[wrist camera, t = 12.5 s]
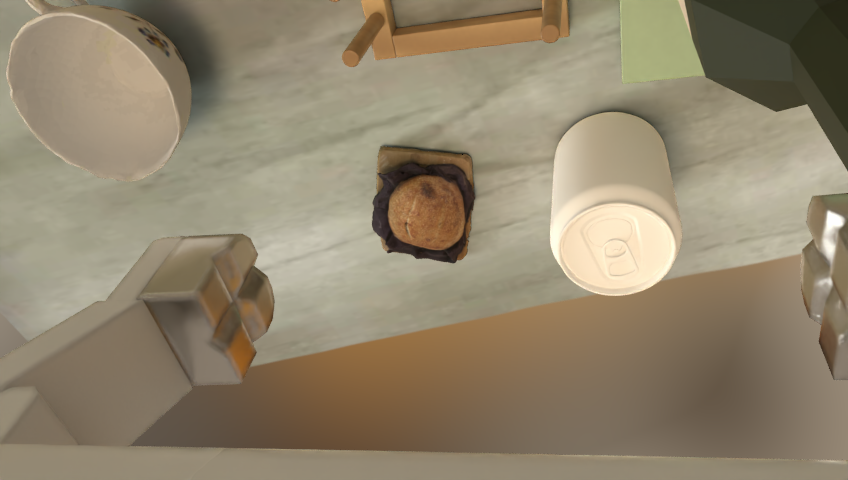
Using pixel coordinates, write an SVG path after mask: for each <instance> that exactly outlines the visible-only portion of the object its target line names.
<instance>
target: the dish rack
mask: <svg viewBox="0 0 848 480" xmlns="http://www.w3.org/2000/svg"><path fill="white" fill-rule="evenodd" d="M330 1H333V2H337V1H339V0H330ZM361 2H362V6H363V10H364V14H365V19H366V22H365V23H364V25H363V26H362V28H361V29H360V30H359V32H358V33H357V34H356V36H355V37H354V39H353V40H352V41H351V43H350V44H349V46H348V47H347V48H346V50H345V51H344V52H343V54H342V60H343V62H344V64H345V65H347V66H349V67H355V66H357V65H358V63H359V62H360V60H361V59H362V57H363V56H364V54H365V53H366V51H367V50H368V48H369V47H370V45H371V44H372V48H373V52H374V57H375V60H380V59H388V58H396V57H404V56H412V55H421V54H429V53H437V52H445V51H453V50H461V49H470V48H478V47H486V46H494V45H502V44H511V43H519V42H527V41H535V40H543V41H545V42H547V43H553V42H555V41H557V40H558V38H560V37H568V36H569V33H570V26H569V12H568V0H542V9H538V10H531V11H523V12H516V13H508V14H501V15H493V16H486V17H478V18H470V19H463V20H455V21H448V22H440V23H433V24H425V25H418V26H410V27H403V28H397V29H396V25H395V20H394V15H393V11H392V6H391V1H390V0H361Z"/></svg>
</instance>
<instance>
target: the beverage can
mask: <svg viewBox="0 0 848 480" xmlns="http://www.w3.org/2000/svg"><path fill="white" fill-rule="evenodd" d="M681 242H682V226H681V221H680V216H679V211H678V206H677V202H676V197H675V192H674V187H673V182H672V177H671V173H670V168H669V163H668V158H667V153H666V149H665V145H664V142H663V140H662V138H661V136H660V135H659V133H658V132H657V131H656V130H655V128H654V127H653V126H651V125H650V124H649V123H648V122H646V121H645V120H643V119H641V118H639V117H637V116H634V115H631V114H627V113H621V112H606V113H600V114H595V115H592V116H589V117H587V118H585V119H583V120H581V121H579V122H578V123H576V124H575V125H574V126H572V127H571V128H570V129H569V130H568V131H567V132H566V133H565V134H564V136H563V137H562V139H561V140H560V142H559V144H558V146H557V149H556V152H555V158H554V174H553V191H552V209H551V227H550V243H551V248H552V251H553V254H554V256H555V258H556V260H557V262H558V263H559V264H560V266H561V268H562V269H563V271H564V272H565V274H566V275H567V276H568V277H569V278H570V279H571V280H572V281H573V282H574V283H575V284H577V285H578V286H580V287H582V288H584V289H586V290H588V291H591V292H594V293H597V294H602V295H612V296H619V295H628V294H633V293H637V292H640V291H643V290H645V289H647V288H649V287H651V286H653V285H654V284H656V283H657V282H659V281H660V280H661V279H662V278H663V277H664V276H665V275H666V274H667V273H668V271H669V270H670V268H671V267H672V265H673V262H674V260H675V258H676V256H677V254H678V252H679V249H680V246H681Z"/></svg>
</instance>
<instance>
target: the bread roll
mask: <svg viewBox="0 0 848 480" xmlns="http://www.w3.org/2000/svg"><path fill="white" fill-rule="evenodd" d="M377 167H378V168H377V170H378V171H377V195H376V196H375V198H374V200H373V205H374V211H373V217H372V218H373V221H372V227H373V230H374V231H375V232H376V233H377V234H378V235H379V236H380V237H381V241H382V246H383V249H384V250H385V251H387V253H391V252H398V253H406V254H411V255H413V256H414V257H415V258H416V259H422V258H429V259H433V260H437V261H442V262H449V263H455V262H456V261H457V260H462V259H463V258H464V257H465V256H466V253H467V246H468V242H469V241H468V240H467V238H468V236H469V232H470V230H471V226H470V225H471V222H470V220H471V210H472V211H473V205H474V200H475V195H474V192H473V188H474V187H473V186H474V185H473V177H472V174H473V172H472V160H471V157H469V156H468V155H466V154H463V155H462V153H461V154H457V155H456V154H452V153H446V152H444V153H442V152H435V151H429V152H428V151H421V150H418V149H408V148H397V147H392V148H391V147H385V146H381V148H380V150H379V155H378V166H377ZM469 237H470V236H469Z"/></svg>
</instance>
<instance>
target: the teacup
mask: <svg viewBox="0 0 848 480" xmlns="http://www.w3.org/2000/svg"><path fill="white" fill-rule="evenodd" d="M25 1H26V2H27V3H28V4H29V6H30V7H31V8H33V9H34V10H35V11H37V12H38V13H39V14H40V16H38V17H36V18H34V19H32V20H30V21H29V22H27V23H26V24H24V25H23V26H22V28H21V29H20V30H19V32H18V34H17V35H16V37H15V38H14V39H13V40H12V41H11V49H10V54H9V63H8V66H7V69H6V72H7V81H8V83H9V85H10V87H11V90H10V95H11V98H12V100H13V102H14V104H15V106H16V108H17V110H18V112H19V114H20V115H21V117H22V118H23V120H24V121H25V123H26V125H27V126H28V128H29V129H30V130H31V131H32V133H33V134H34V135H35V136H36V137H37V138H38V139H39V140H40V141H41V142H42V143H43V144H44V145H45V146H46V147H47V148H48V149H49V150H50V151H51V152H53V153H55V154H56V155H58V156H59V157H61V158H62V159H63V160H65V161H66V162H67V163H69V164H71V165H75V166H78V167H80V168H81V169H83V170H86V171H88V172H90V173H92V174H94V175H95V176H97V177H100V178H104V179H107V178H113V179H115V180H117V181H128V182H130V181H133V180H140V179H142V178H145V177H146V176H148V175H150V174H152V173H154V172H156V171H157V170H159V169H160V168H162V167H163V166H164V165H165V164H166V162H167V161H168V160H169V159H170V158H171V156H172V154H173V153H174V151H175V149H176V147H177V145H178V144H179V142H180V140H181V138H182V136H183V134H184V131H185V129H186V126H187V123H188V120H189V115H190V111H191V100H192V99H191V84H190V78H189V75H188V71H187V68H186V65H185V63H184V61H183V59H182V57H181V55H180V53H179V52H178V50H177V49H176V47H175V46H174V44H173V43H172V42H171V41H170V40H169V39H168V37H167V36H166V35H165V34H164V33H162V32H161V31H160V30H159V29H158V28H156V27H155V26H154V25H152V24H151V23H149V22H148V21H146V20H144V19H142V18H140V17H139V16H136V15H134V14H132V13H129V12H127V11H124V10H120V9H117V8H112V7H106V6H97V5H89V4H88V3H87V2H86V1H85V0H71V1H72V2H74V3H75V4H76V5H77V6H71V7H66V8H63V7H59V6H54V5H51V4H49V3H47V2H45V1H44V0H25Z"/></svg>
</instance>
